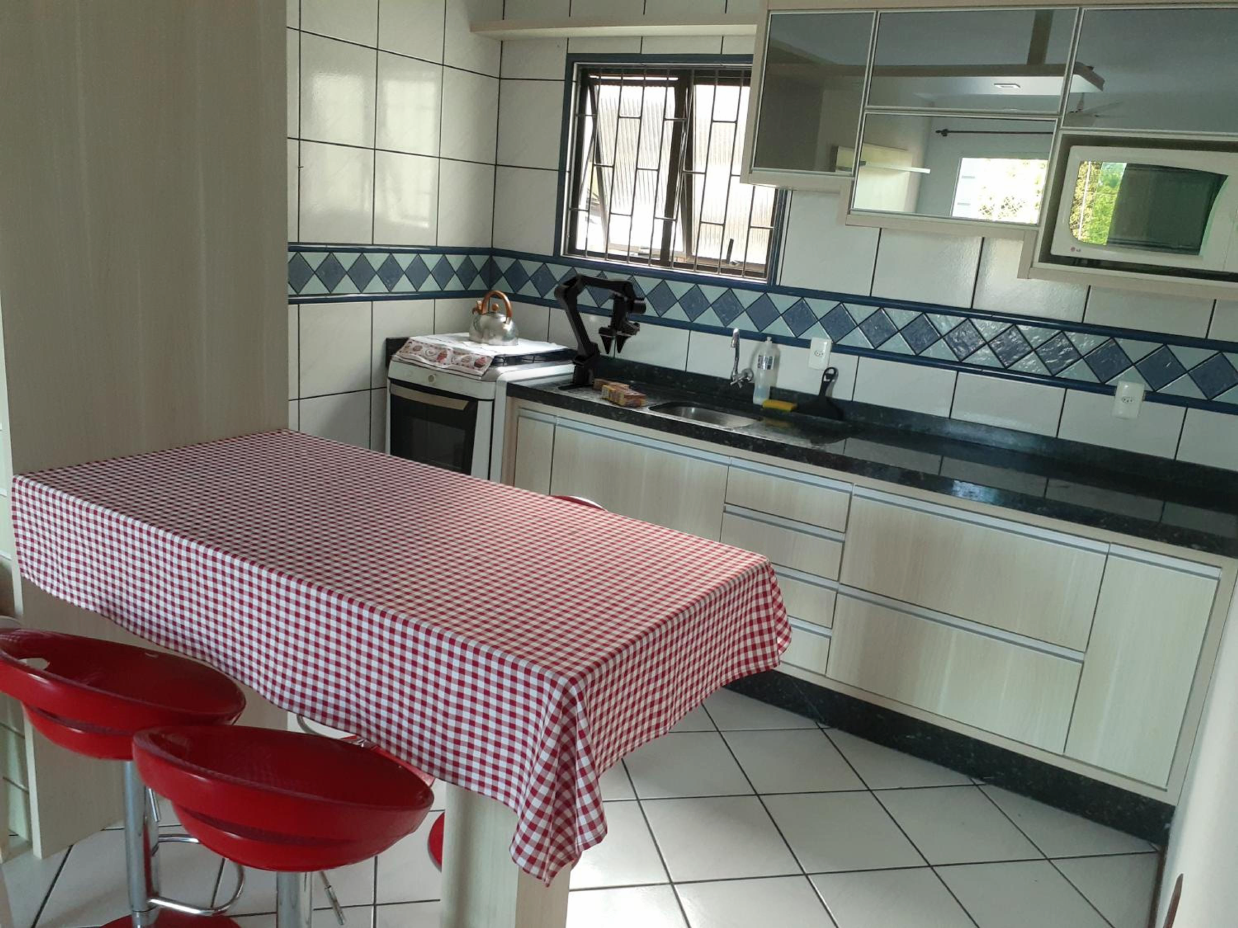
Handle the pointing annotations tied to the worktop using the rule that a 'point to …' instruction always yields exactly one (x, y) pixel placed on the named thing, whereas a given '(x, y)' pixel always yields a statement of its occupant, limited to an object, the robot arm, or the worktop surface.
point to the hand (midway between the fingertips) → (613, 353)
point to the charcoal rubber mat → (647, 403)
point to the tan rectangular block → (599, 384)
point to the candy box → (623, 395)
